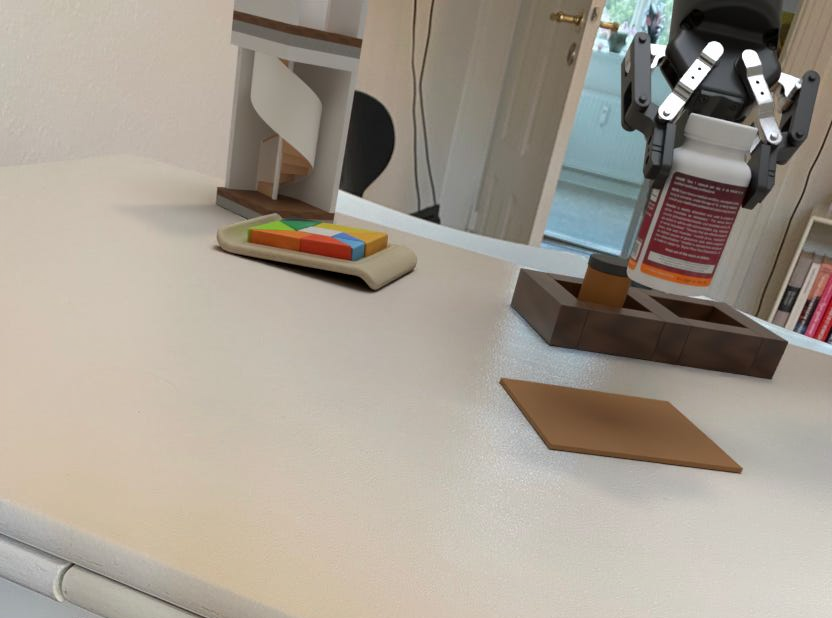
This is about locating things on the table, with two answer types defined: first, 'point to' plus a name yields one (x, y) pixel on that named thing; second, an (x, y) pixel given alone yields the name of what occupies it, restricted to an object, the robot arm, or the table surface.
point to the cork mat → (615, 426)
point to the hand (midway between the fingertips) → (706, 190)
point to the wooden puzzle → (320, 247)
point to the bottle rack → (648, 326)
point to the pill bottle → (693, 208)
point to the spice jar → (605, 281)
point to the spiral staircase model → (291, 105)
